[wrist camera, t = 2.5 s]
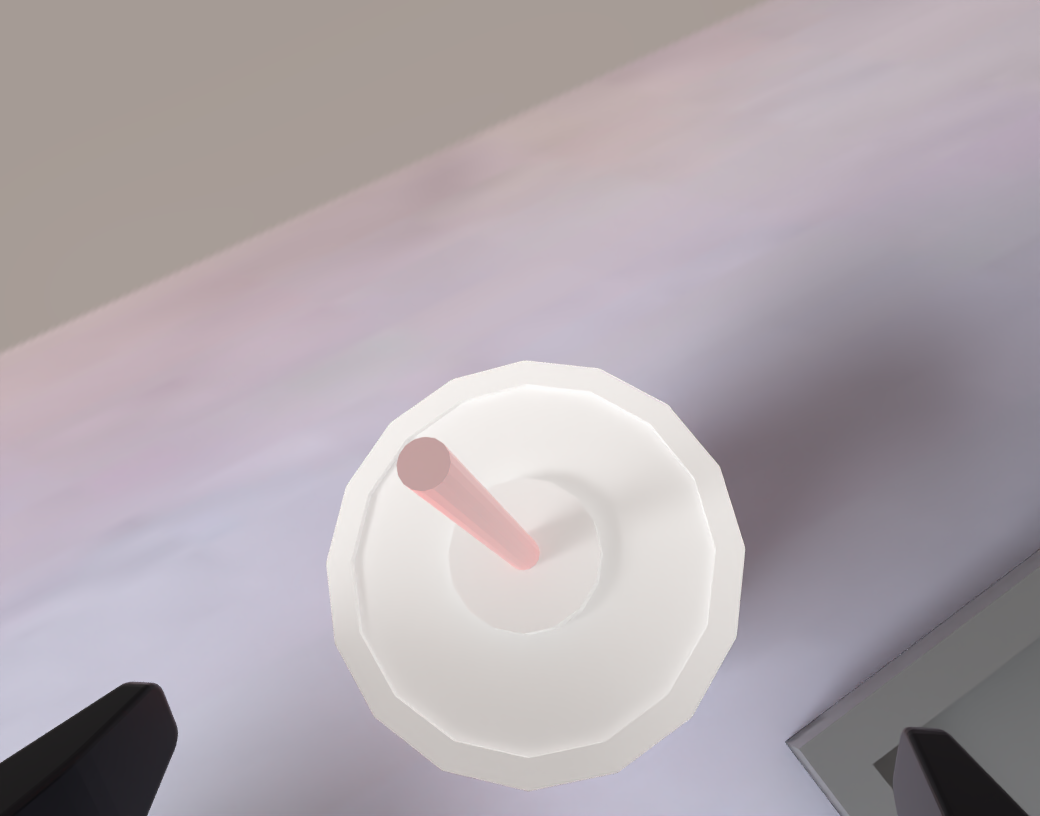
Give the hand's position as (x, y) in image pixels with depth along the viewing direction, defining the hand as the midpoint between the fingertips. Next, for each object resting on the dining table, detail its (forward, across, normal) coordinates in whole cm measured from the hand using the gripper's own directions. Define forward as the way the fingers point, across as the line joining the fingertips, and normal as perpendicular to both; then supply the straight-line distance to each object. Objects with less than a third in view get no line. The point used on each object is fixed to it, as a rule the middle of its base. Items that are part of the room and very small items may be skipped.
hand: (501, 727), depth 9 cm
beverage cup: (+9, 0, +6) cm, 11 cm away
